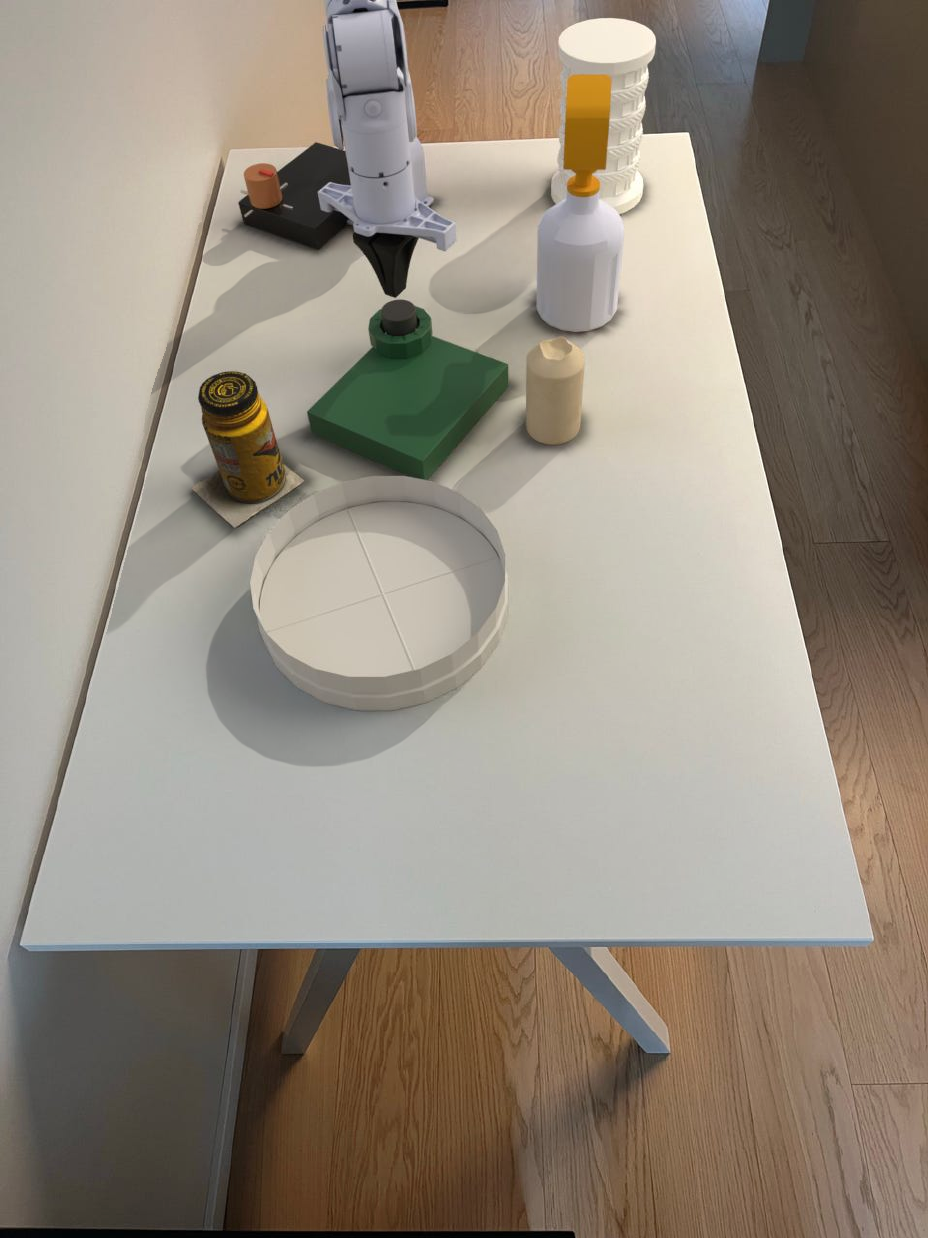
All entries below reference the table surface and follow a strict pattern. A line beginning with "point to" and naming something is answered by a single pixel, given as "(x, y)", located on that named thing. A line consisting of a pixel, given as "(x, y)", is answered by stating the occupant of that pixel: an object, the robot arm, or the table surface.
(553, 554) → the table surface
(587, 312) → the soap bottle
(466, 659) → the dish
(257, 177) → the dial
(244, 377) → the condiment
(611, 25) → the decorative container
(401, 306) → the dark grey short cylinder
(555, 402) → the candle
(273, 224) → the panel
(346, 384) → the button base
